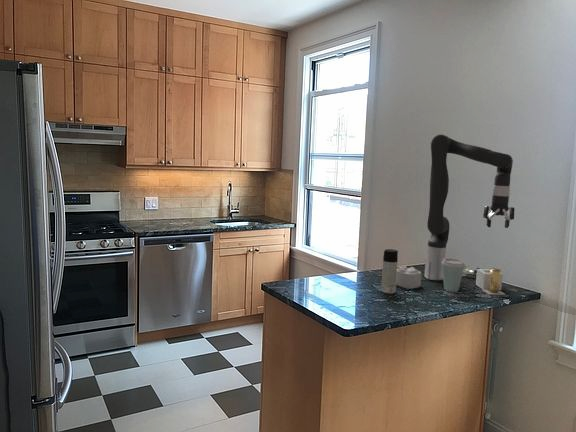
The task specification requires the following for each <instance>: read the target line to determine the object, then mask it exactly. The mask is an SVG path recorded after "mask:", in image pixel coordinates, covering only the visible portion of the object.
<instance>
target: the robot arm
mask: <svg viewBox="0 0 576 432" xmlns="http://www.w3.org/2000/svg"><path fill="white" fill-rule="evenodd" d="M430 154H431V157H430V158H431V167H430V177H429V179H430V180H429V208H428V209H429V211H428V217H427V230H428V231H429V233H430V234H431V235H430V237H429V240H428V242H427V253H426V258H425V262H424V263H425V264H424V276H423V277H425V279H427V280H432V281H443V269H442V261H443V259H444V258H446V254H447V244H448V242H449V235H450V222H449V219H448V217H446V216H444V208H445V207H444V206H445V203H446V200H447V199H448V194H449V185H450V184H449V183H450V181H449V180H450V177H449V171H448V164H447V157H448V154H453V155H458V156H462V157H464V158H467V159H470V160H472V161H475V162H479V163H482V164H488V165H491V166H494V167H496V173H495V176H494V182H493V183H494V184H493V188H492V195H491V197H492V198H491V206H489V205H485V206H484V209H483V215H482V217H483V218H484V219H486V224H485V225H486V226H487V227H488V228H491V226H492V225H491V224H492V219H493V218H494V217H495V216H502V217H504V219H505V220H504V228H505V229H508V228H509V227H510V221H512V220H515V207H513V206H509V202H510V201H509V200H510V195H511V194H510V193H511V190H510V185H511V173H512V168H513V163H514V160H513V157H512V156H511V155H510V154H508V153H503V152H498V151H494V150H491V149H489V148H486V147H482V146H478V145H473V144H472V145H471V144H468V143H464V142H460V141H457V140H454V139H453V138H451V137H449V136H447V135H444V134H441V133H440V134H436V135H434V136H433V137H432V139H431V141H430ZM490 210H491V212H490V213H489V211H490ZM508 211H509V214H508Z"/></svg>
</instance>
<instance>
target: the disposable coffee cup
mask: <svg viewBox="0 0 576 432" xmlns="http://www.w3.org/2000/svg"><path fill="white" fill-rule="evenodd" d="M465 264H466V263H464V261H463V260H460V259H457V258H453V257H445V258H444V259H443V261H442V269H443V280H442V282H443V288H444V290H445V292H446V291H447V292H451V293H454V292H455V293H456V292H458V291H459V290H460V286H461V281H462V277H463V276H462V273H463V269H464V266H465Z"/></svg>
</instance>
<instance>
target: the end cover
mask: <svg viewBox="0 0 576 432" xmlns="http://www.w3.org/2000/svg"><path fill="white" fill-rule="evenodd" d="M490 270H491V271H490V282H489V292H491V293H499V291H500V290H499V282H500V273H501V269H499V268H495V267H493V268H490Z"/></svg>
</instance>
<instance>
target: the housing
mask: <svg viewBox="0 0 576 432" xmlns="http://www.w3.org/2000/svg"><path fill="white" fill-rule="evenodd" d="M476 270H477V276H476V279H475V285H476V286H477V287H479V288H480V289H481V290H482V291H483V290H489V282H490V271H491V269H482V268H480V269H477V268H476ZM503 275H504V274H503V273H501V272H500V282H499V291H502V287H503Z"/></svg>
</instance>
